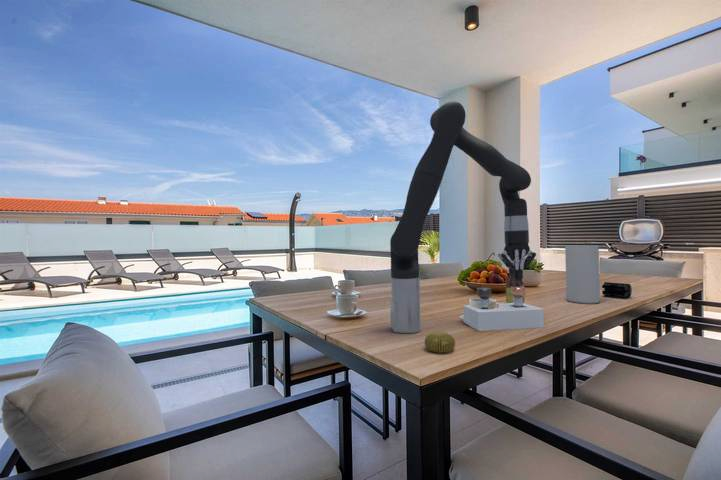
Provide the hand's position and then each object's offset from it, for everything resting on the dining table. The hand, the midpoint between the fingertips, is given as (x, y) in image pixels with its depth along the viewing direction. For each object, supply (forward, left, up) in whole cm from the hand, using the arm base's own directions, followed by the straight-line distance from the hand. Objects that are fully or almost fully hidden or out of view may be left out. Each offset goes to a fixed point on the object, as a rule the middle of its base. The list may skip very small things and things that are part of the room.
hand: (518, 280), depth 116 cm
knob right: (0, 0, -11) cm, 11 cm away
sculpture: (-35, -21, -15) cm, 43 cm away
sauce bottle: (+6, +12, -15) cm, 20 cm away
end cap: (+71, +37, -15) cm, 81 cm away
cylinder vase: (+49, +31, -15) cm, 60 cm away
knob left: (-12, 0, -11) cm, 16 cm away
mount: (-6, 0, -15) cm, 16 cm away
